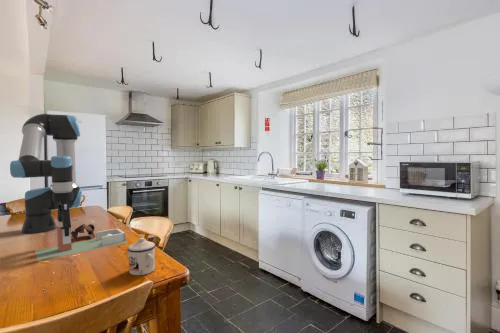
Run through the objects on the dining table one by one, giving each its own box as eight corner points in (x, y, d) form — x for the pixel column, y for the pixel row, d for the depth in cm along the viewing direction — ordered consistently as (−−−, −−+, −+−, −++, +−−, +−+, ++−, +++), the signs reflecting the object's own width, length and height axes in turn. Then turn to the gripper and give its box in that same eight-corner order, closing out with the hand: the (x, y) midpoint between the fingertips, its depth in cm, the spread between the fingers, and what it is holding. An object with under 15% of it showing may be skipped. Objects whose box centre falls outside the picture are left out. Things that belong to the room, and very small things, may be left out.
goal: (96, 240, 133) (96, 231, 133) (118, 235, 140) (118, 228, 140) (102, 246, 124) (102, 237, 124) (125, 241, 131) (125, 233, 131)
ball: (108, 238, 132) (101, 240, 128) (111, 231, 132) (104, 233, 128) (114, 243, 131) (107, 245, 127) (116, 235, 131) (110, 237, 127)
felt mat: (34, 250, 119) (34, 250, 119) (118, 235, 142) (118, 234, 142) (37, 261, 107) (37, 260, 107) (127, 242, 130) (127, 242, 130)
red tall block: (57, 249, 120) (56, 222, 120) (70, 247, 123) (69, 220, 123) (59, 252, 117) (58, 224, 116) (71, 249, 120) (70, 222, 119)
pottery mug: (89, 242, 132) (79, 229, 130) (74, 250, 134) (64, 237, 132) (103, 229, 144) (93, 217, 141) (89, 236, 145) (79, 224, 143)
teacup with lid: (123, 271, 98) (122, 239, 97) (147, 263, 104) (147, 233, 104) (140, 281, 90) (139, 246, 89) (164, 272, 96) (164, 239, 96)
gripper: (49, 189, 126) (51, 234, 127) (55, 196, 107) (57, 249, 108) (68, 187, 131) (70, 231, 132) (77, 194, 112) (79, 244, 113)
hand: (64, 239), depth 120 cm, fingers open, 13 cm apart
